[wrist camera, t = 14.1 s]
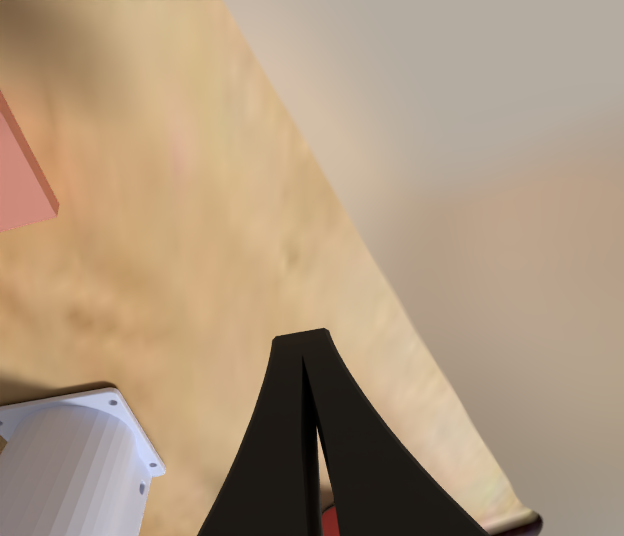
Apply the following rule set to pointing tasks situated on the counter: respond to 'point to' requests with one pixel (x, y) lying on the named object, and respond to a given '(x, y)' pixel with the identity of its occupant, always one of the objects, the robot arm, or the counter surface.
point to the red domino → (21, 178)
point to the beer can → (330, 522)
